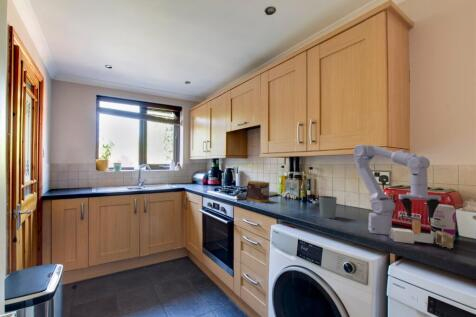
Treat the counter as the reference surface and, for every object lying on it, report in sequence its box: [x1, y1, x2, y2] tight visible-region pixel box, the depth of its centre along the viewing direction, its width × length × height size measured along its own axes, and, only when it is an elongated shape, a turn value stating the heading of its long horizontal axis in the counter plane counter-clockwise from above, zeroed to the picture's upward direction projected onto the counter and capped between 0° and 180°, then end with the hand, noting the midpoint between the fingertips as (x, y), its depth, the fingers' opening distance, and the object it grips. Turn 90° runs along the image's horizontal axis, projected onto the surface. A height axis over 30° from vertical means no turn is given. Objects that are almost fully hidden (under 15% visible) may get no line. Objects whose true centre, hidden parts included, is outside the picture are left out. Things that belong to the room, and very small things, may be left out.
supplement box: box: [246, 180, 270, 203], centre depth 193 cm, size 10×15×16 cm
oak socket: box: [435, 231, 454, 249], centre depth 97 cm, size 3×6×5 cm, turn 161°
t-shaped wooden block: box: [388, 219, 435, 244], centre depth 100 cm, size 15×3×8 cm, turn 71°
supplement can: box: [430, 203, 456, 241], centre depth 105 cm, size 8×8×15 cm
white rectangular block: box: [391, 227, 415, 245], centre depth 101 cm, size 7×5×5 cm, turn 71°
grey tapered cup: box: [318, 195, 338, 219], centre depth 142 cm, size 10×10×12 cm
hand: (419, 217), depth 99 cm, fingers open, 7 cm apart
